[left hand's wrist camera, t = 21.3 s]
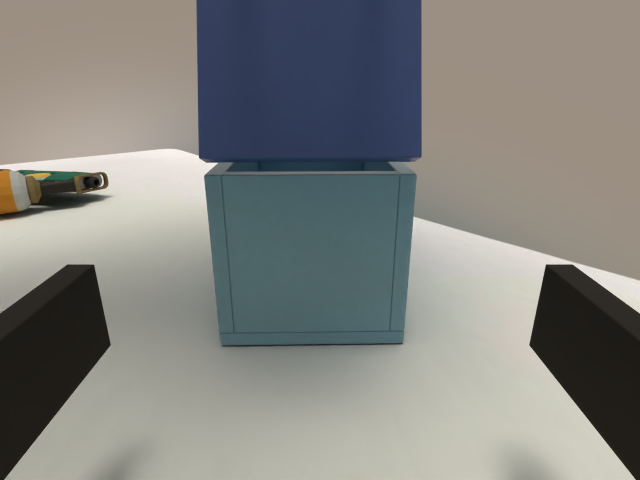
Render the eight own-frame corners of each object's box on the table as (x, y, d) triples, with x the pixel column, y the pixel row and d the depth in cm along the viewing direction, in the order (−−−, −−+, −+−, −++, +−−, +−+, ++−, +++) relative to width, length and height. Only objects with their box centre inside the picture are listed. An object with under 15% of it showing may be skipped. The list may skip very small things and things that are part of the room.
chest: (254, 245, 34) (248, 136, 31) (368, 244, 35) (372, 135, 32) (220, 346, 21) (203, 175, 18) (403, 343, 22) (417, 173, 18)
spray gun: (-91, 208, 46) (57, 187, 58) (-49, 229, 36) (119, 199, 48) (-103, 169, 45) (50, 155, 56) (-63, 180, 35) (113, 161, 47)
